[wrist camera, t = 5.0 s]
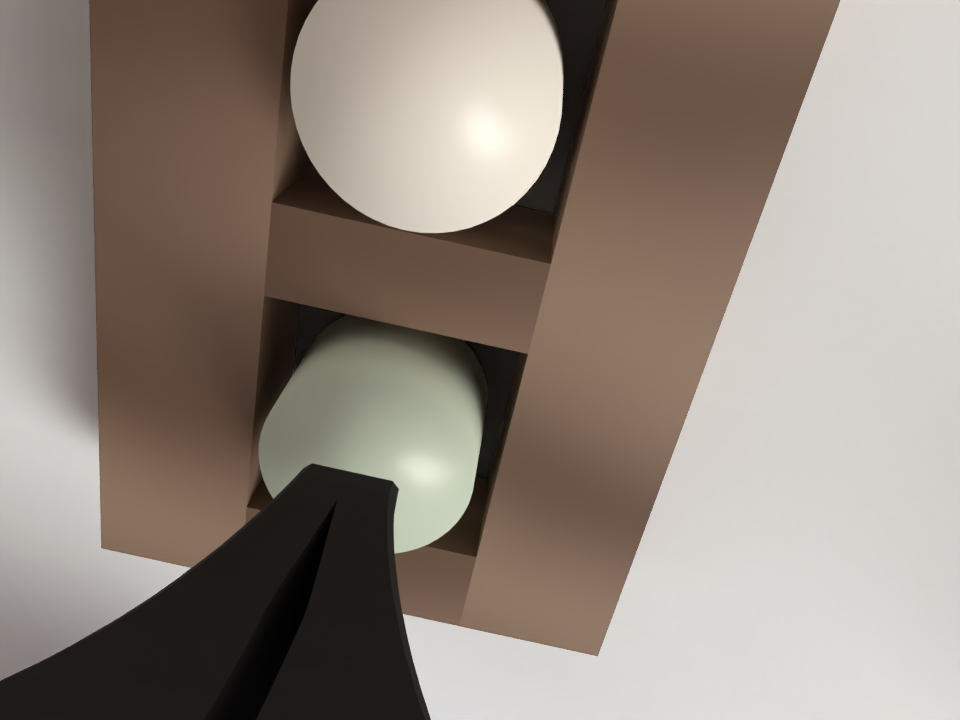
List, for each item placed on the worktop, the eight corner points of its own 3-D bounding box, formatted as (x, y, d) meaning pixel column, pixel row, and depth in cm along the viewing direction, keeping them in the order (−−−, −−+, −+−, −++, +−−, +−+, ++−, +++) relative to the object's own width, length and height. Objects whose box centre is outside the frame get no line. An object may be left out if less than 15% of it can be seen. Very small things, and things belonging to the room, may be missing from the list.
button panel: (594, 570, 19) (598, 655, 17) (156, 474, 19) (101, 548, 17) (1049, -753, 10) (1194, -954, 7) (180, -953, 9) (63, -1217, 7)
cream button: (534, 205, 14) (528, 257, 12) (325, 158, 14) (279, 202, 12) (589, -27, 13) (593, -15, 10) (350, -80, 12) (304, -80, 10)
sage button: (468, 488, 17) (453, 573, 15) (292, 449, 17) (251, 529, 15) (505, 330, 15) (494, 400, 13) (310, 288, 15) (267, 350, 13)
